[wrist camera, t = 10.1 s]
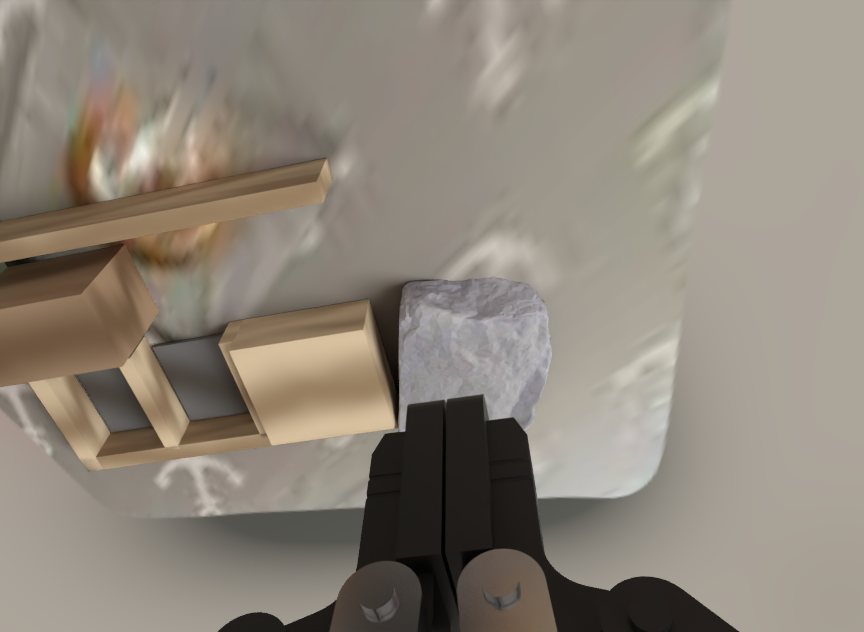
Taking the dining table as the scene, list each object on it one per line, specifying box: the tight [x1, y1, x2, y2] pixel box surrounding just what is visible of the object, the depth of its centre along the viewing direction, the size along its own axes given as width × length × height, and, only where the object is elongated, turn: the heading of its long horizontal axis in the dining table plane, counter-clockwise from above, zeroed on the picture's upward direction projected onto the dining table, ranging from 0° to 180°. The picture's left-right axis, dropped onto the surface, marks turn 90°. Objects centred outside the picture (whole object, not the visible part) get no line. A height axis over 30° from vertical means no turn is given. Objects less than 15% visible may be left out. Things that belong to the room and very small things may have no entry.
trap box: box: [0, 158, 399, 471], centre depth 43 cm, size 18×23×4 cm
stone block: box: [398, 277, 552, 432], centre depth 44 cm, size 12×5×10 cm
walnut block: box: [0, 244, 159, 387], centre depth 41 cm, size 5×8×6 cm, turn 102°
